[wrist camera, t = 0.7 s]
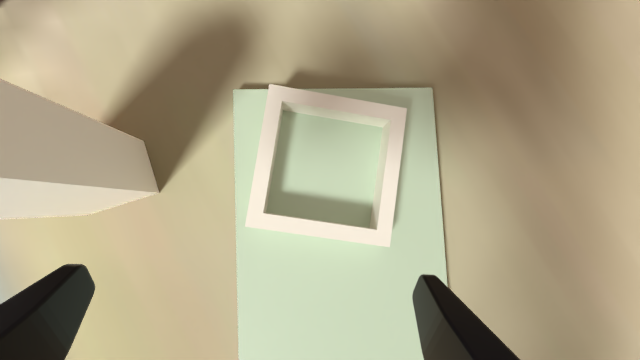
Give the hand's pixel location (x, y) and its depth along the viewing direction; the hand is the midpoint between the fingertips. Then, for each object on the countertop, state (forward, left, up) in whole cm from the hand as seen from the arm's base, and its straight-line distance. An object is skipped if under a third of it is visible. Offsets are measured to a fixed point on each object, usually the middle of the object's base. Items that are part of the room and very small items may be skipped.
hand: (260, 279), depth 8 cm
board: (+1, -4, -14) cm, 15 cm away
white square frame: (+5, -3, -14) cm, 15 cm away
